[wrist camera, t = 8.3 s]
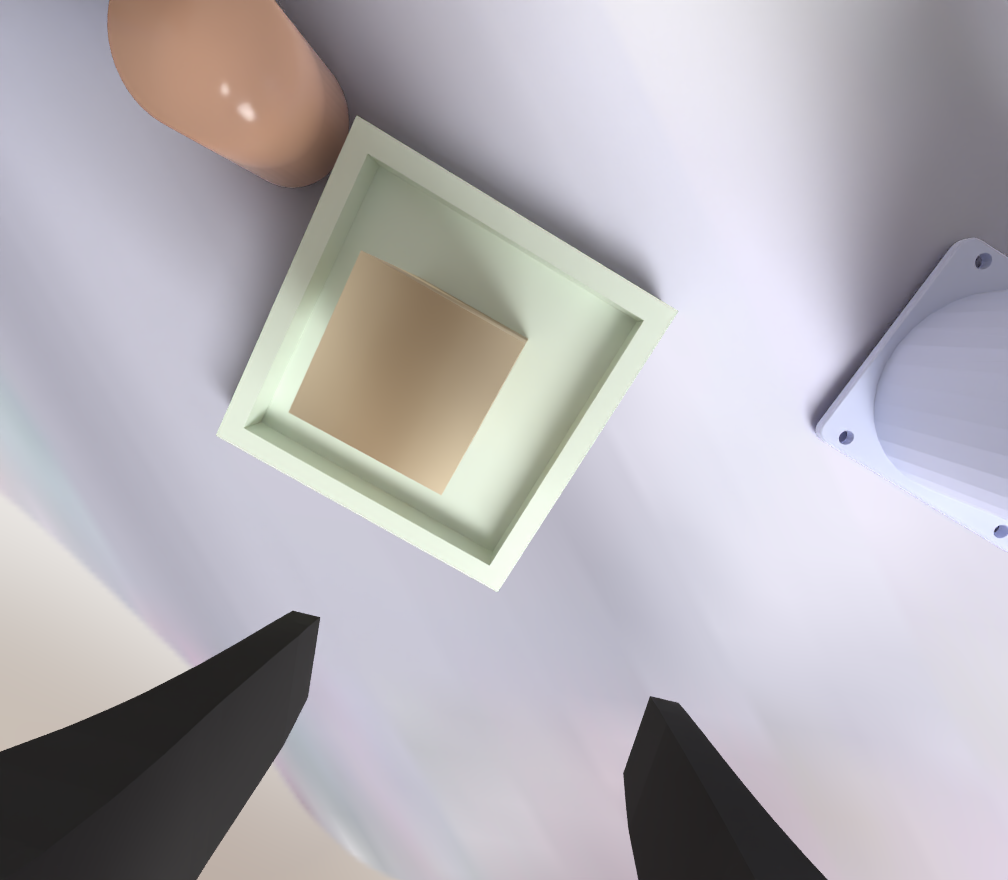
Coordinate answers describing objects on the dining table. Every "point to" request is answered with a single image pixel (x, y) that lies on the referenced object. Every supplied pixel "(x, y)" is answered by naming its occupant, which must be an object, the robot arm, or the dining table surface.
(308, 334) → the tray
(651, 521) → the dining table surface
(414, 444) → the maple block
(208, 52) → the peach rounded cylinder
